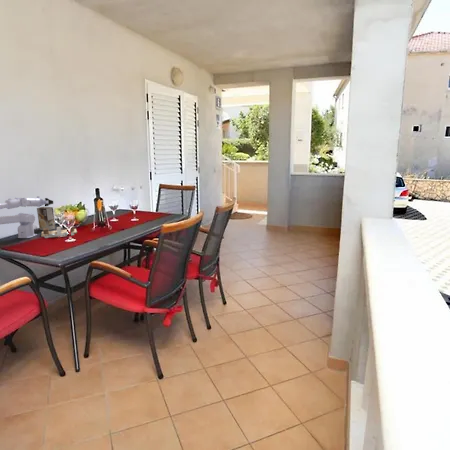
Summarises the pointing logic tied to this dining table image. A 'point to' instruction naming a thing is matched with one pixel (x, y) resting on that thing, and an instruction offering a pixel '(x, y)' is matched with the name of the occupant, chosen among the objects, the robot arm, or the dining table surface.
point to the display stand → (47, 232)
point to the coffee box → (46, 218)
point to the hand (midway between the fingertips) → (48, 202)
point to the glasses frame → (57, 233)
